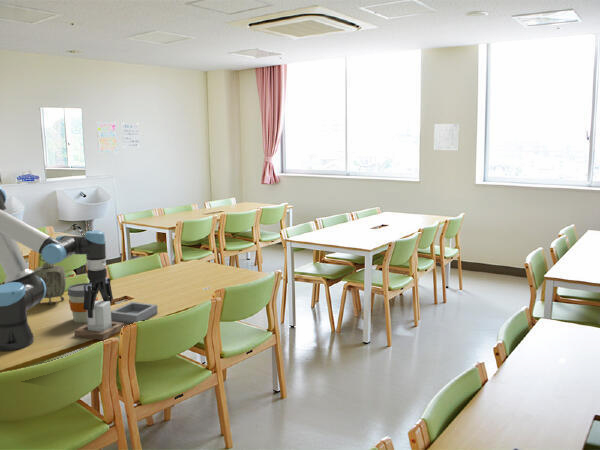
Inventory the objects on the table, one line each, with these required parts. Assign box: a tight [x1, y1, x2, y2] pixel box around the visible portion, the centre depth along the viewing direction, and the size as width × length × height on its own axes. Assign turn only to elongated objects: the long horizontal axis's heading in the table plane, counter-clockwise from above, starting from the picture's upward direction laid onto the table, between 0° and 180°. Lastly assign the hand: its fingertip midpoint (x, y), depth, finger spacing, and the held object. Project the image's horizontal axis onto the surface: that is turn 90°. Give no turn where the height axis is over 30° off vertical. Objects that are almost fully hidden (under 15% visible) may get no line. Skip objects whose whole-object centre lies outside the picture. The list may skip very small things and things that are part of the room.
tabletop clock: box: [33, 254, 67, 305], centre depth 261 cm, size 14×9×25 cm, turn 110°
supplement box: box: [86, 300, 112, 332], centre depth 225 cm, size 7×7×13 cm
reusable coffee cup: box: [67, 282, 99, 324], centre depth 240 cm, size 13×13×15 cm
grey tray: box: [111, 301, 158, 325], centre depth 245 cm, size 16×14×4 cm
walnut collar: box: [73, 321, 125, 341], centre depth 226 cm, size 14×14×2 cm
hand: (99, 321), depth 225 cm, fingers closed on supplement box, 8 cm apart
